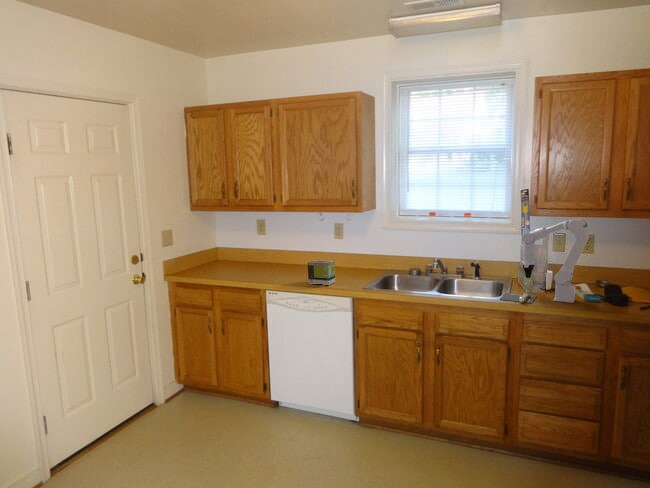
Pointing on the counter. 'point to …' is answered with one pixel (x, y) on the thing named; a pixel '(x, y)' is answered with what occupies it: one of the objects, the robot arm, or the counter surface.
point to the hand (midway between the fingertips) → (528, 277)
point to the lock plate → (516, 297)
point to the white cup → (548, 279)
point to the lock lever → (524, 297)
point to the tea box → (321, 271)
